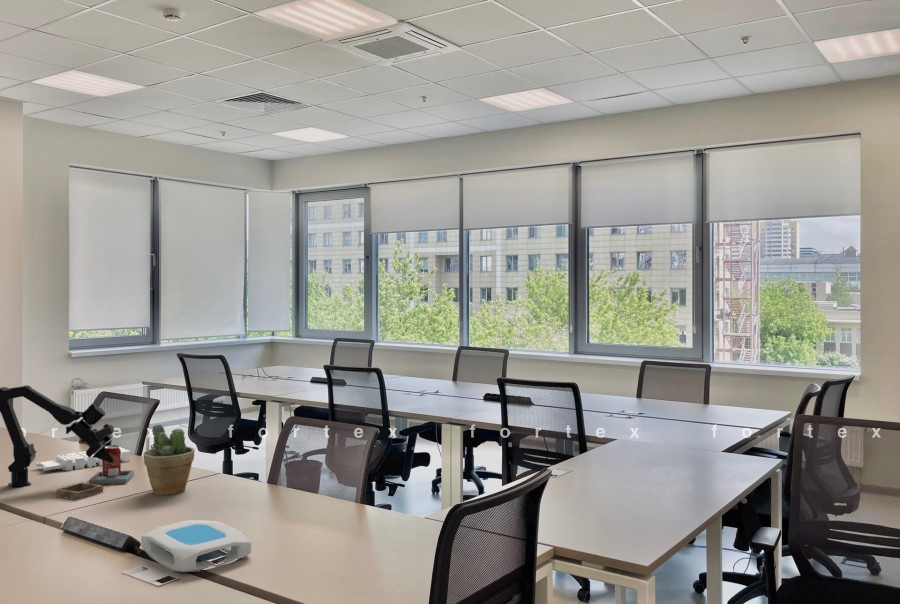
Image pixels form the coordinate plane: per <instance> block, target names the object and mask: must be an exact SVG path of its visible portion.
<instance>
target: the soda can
mask: <svg viewBox="0 0 900 604" xmlns="http://www.w3.org/2000/svg"><path fill="white" fill-rule="evenodd" d="M119 447H120V445H118V444H117V445H116V444H115V445H112V444H111V446H106V451H107V452H108V454H109V455H110V456H111V457H112V459H113V460H114V461H113V462H112V463H111V462H108V461H105V460H102V467H101V468H102V469H101V472H102V476H104V477H106V478H113V477H117V476H118V475H120V474H121V471H122V470H121V468H122V467H121V466H122V462H121V450H120V449H119Z"/></svg>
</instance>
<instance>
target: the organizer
mask: <svg viewBox="0 0 900 604" xmlns="http://www.w3.org/2000/svg"><path fill="white" fill-rule="evenodd" d="M119 449H120V450H121V461H122V462H121V463H124V462H123V461H127V462H129V461H128V460H130V461H131V450H129V449H126V448H124V447H121V446H119ZM86 451H87V450H84V451H79V452H77V453H76V452H72V453H66V454H65V455H64V454H58V455H56V458H55V459H53V460H47V461H40V462H36V463H35V466H36V467H41V468H42V471H43V472H46V471H52V470H57V469H61V468H62V470H63V469H64V470H63V471H65V470H66V471H65V472H68V471H67V470H70V471H73V469H74V468H75V469H74V470H80V469H79V468H82V469H85V468H84V467H86V466H87V467H86V468H88V467H89V468H91V467H90V466H95V467H97V464H99V465H102V459H98V458H95V457H93V456H94V455H95V454H93V455H92V456H91V457H90V458H89V457H88V456H87V455H86ZM96 463H97V464H96ZM99 465H98V466H99Z"/></svg>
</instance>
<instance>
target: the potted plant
mask: <svg viewBox="0 0 900 604" xmlns="http://www.w3.org/2000/svg"><path fill="white" fill-rule="evenodd" d="M151 432H152V435H153V444H154V445H153V446H152V447H153V448H150V449H147V450H145V451H144V452H143V460H144V461H143V464H144V465H145V467H146V472H147V476H148V478H149V483H150V486H151V489H152V492H153V494H154V495H156V494H157V495H156V496H173V495H172V494H175V495H178V493H179V494H181V492H182V493H183V492H184V491H186V487H187V483H188V481H189V476H190V473H191V469H192V464H193V462H194V459H195V451H196V450H195V448H194V447H192V446H191V447H190V446H187V445H186V442H185V440H186V436H185V430H183V429H182V428H179V427H178V428H174V429H172V431H171V433H170V435H169V437H168V435H167V434H166V430H165V427H164V426H163V425H162V424H154V426H152V430H151Z"/></svg>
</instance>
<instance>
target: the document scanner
mask: <svg viewBox="0 0 900 604" xmlns="http://www.w3.org/2000/svg"><path fill="white" fill-rule="evenodd" d="M140 537H141V538H140V540H141V541H140V543H141V548H142V549H143V551H144V552H145V554H147V555H148V556H149V558H151V559H152V560H154V561H156V562H157V563H159V564H160V565H162V566H163V567H165V568H166V569H168V570H170V571H172V572H181V573H189V572H190V573H193V572H194V573H195V572H200V570H202V569H205V568H208V567H210V566H213V565H215V564H216V563H211V562H209V561H205V562H204V560H200V561H201V562H200V561H197V558H198V557H199V556H202V555H205V554H208V553H212V552H214V551H219V549H221V550H223V551H225V552H227V553H226V554H225V553H223V554H222V555H223V556H225V557H227V558H228V559H227V558H225V559H224V560H222V559H221V560H222V561H220V560H219V561H220V562H217V563H221V562H227V561H228V562H229V561H231V560H235V559H239V558H242V559H243V558H246V557H247V556H248V555H250V554H252V541H251V540H250V539H249V538H248V537H246V536H245V535H244V534H243V533H241V531H240V530H237V529H236V528H233V527H231V526H230V525H228V524H225V523H223V522H221V521H214V520H204V519H203V520H202V519H200V520H198V519H197V520H195V519H192V520H191V519H187V520H182V521H179V522H175V523H170V524H165V525H162V526H159V527H156V528H155V529H153V530H150V531H148V532H147V533H144V534H142V535H141V536H140ZM166 550H167V551H168V552H167V551H166Z"/></svg>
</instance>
